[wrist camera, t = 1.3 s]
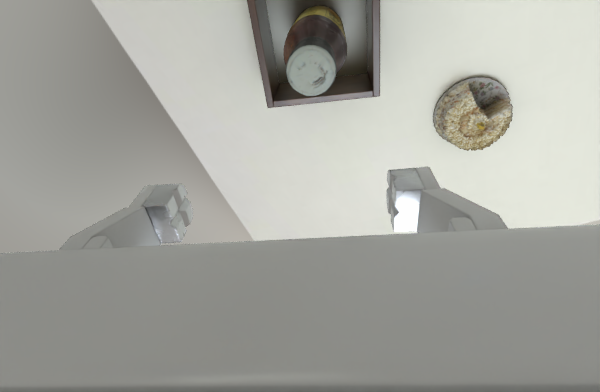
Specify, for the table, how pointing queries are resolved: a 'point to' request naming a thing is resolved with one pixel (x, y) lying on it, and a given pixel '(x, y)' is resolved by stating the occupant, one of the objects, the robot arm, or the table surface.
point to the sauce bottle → (315, 50)
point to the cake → (473, 113)
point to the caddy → (342, 85)
